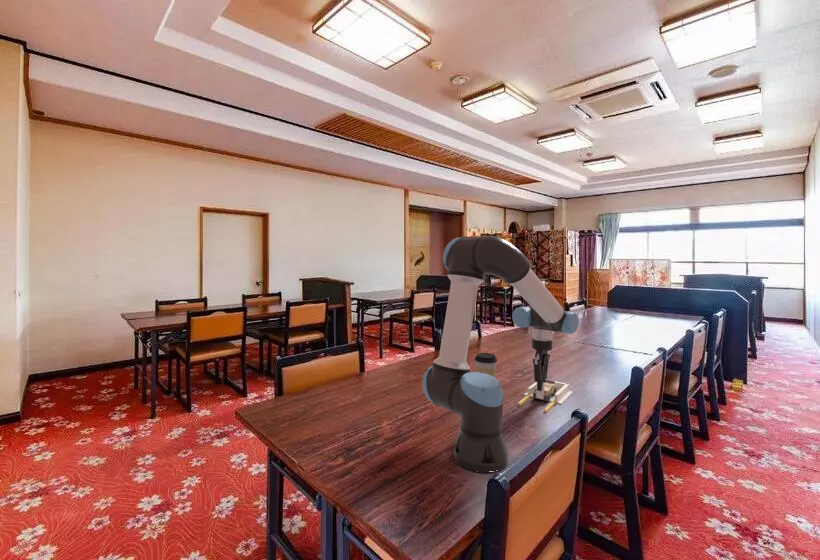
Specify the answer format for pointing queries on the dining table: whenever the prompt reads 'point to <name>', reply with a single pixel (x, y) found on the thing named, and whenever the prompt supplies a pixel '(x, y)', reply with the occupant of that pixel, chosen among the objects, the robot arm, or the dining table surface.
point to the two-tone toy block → (547, 390)
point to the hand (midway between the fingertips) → (540, 398)
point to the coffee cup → (486, 363)
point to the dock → (557, 398)
